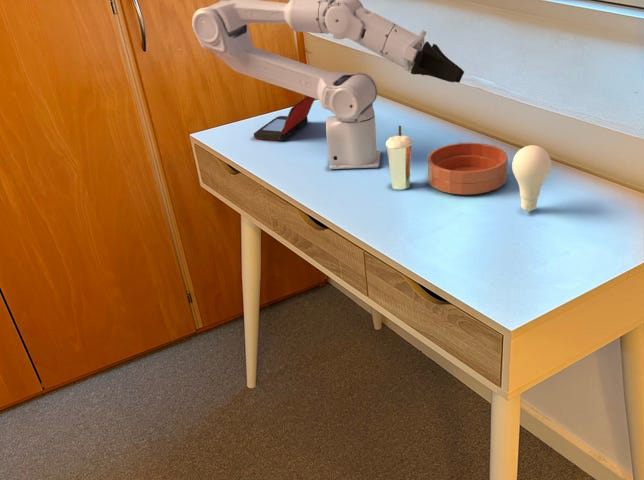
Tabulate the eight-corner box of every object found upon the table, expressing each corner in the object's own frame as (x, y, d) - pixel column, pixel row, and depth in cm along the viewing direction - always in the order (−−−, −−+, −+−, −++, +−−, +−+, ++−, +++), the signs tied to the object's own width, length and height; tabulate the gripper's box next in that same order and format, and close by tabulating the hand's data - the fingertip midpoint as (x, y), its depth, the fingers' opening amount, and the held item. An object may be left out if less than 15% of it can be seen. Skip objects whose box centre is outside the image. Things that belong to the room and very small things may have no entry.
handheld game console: (279, 120, 164) (274, 86, 159) (322, 123, 160) (318, 89, 156) (251, 139, 154) (245, 104, 150) (296, 143, 151) (292, 107, 147)
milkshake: (414, 179, 133) (412, 125, 127) (412, 191, 128) (410, 136, 122) (390, 179, 133) (387, 125, 127) (387, 191, 129) (383, 136, 123)
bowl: (428, 198, 126) (427, 173, 123) (427, 167, 137) (427, 144, 134) (510, 195, 125) (511, 170, 122) (502, 164, 136) (503, 141, 134)
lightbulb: (550, 205, 121) (555, 141, 115) (543, 220, 117) (548, 155, 110) (514, 201, 123) (517, 138, 116) (506, 217, 118) (509, 152, 112)
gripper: (391, 14, 117) (464, 52, 117) (407, 21, 131) (473, 56, 131) (373, 56, 120) (445, 94, 120) (391, 59, 134) (456, 93, 133)
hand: (459, 77), depth 126 cm, fingers open, 7 cm apart
